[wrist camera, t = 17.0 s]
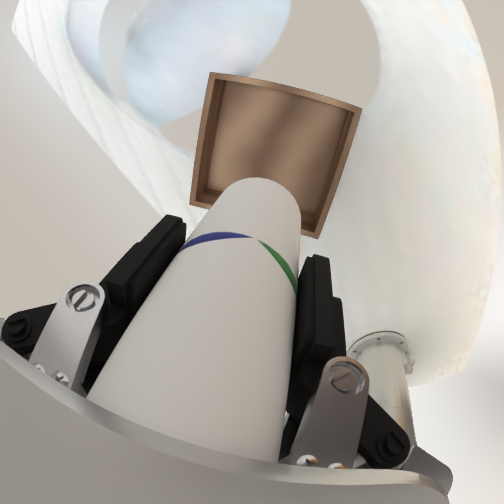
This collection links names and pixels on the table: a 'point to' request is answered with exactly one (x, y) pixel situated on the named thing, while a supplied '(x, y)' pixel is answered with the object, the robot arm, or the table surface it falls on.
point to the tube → (217, 330)
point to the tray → (272, 143)
